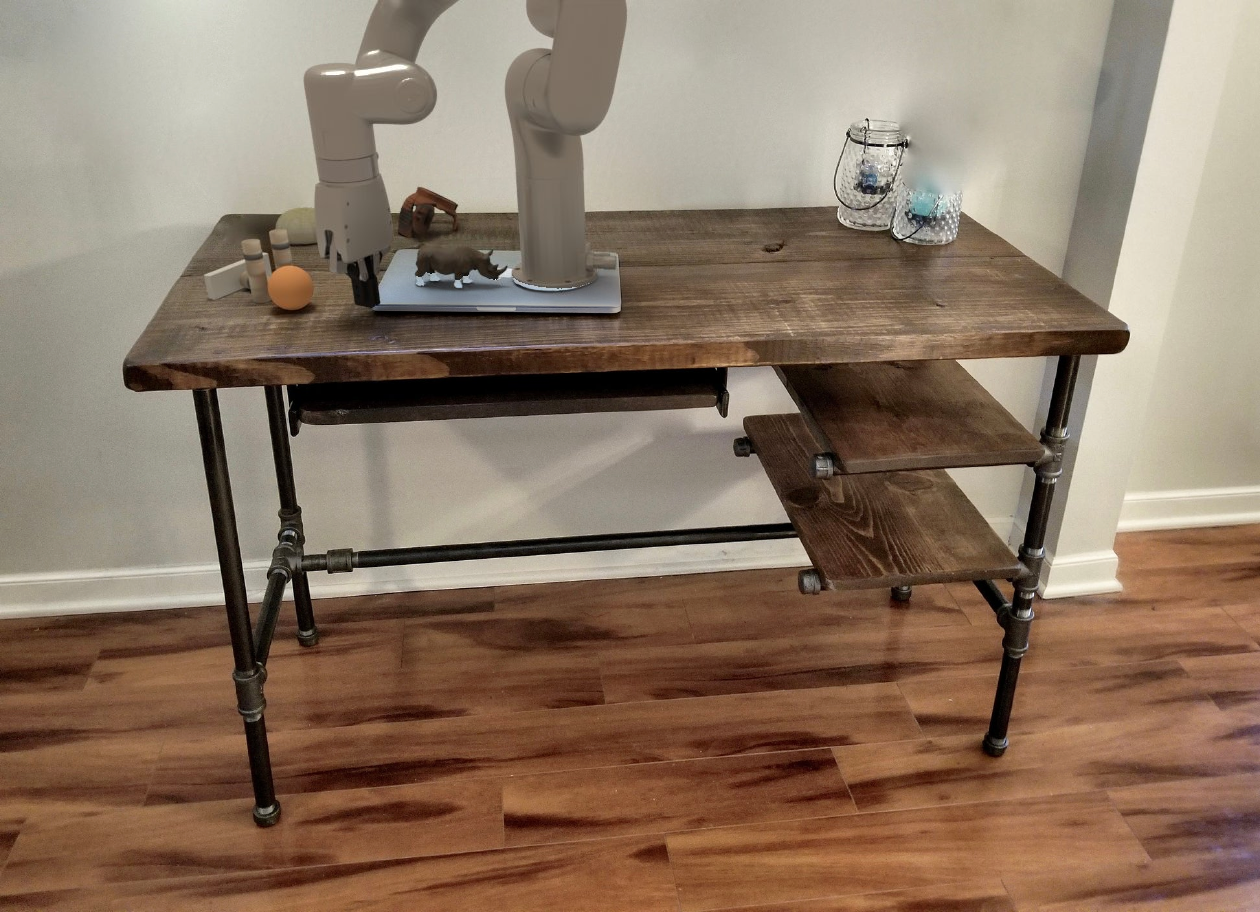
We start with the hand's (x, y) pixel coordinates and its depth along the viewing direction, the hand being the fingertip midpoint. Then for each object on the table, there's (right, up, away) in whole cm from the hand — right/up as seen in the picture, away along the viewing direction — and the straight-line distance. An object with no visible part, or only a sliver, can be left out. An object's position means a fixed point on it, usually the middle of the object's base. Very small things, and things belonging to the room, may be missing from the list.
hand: (367, 304), depth 140 cm
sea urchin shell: (-18, +15, +31) cm, 39 cm away
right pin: (-14, +4, +10) cm, 18 cm away
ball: (-11, +3, +2) cm, 11 cm away
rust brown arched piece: (+2, +17, +33) cm, 37 cm away
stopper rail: (-21, +4, +11) cm, 24 cm away
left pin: (-16, +2, +6) cm, 18 cm away
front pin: (-13, +3, +6) cm, 14 cm away
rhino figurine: (+11, +4, +11) cm, 16 cm away
